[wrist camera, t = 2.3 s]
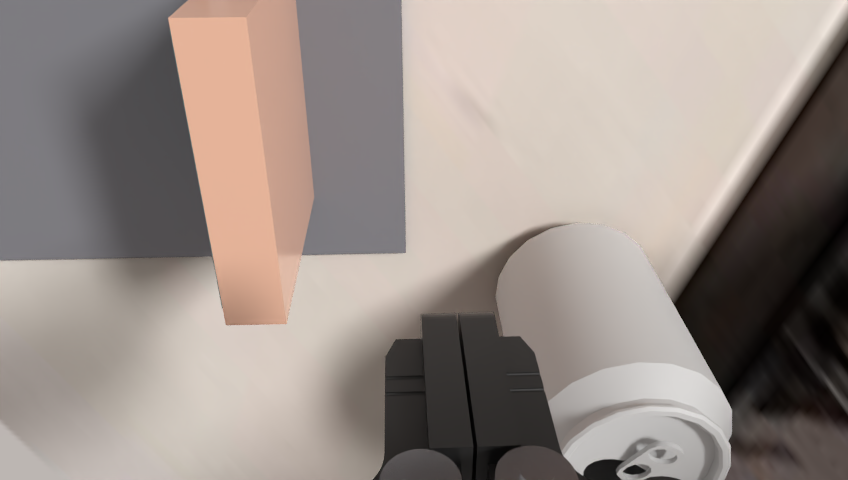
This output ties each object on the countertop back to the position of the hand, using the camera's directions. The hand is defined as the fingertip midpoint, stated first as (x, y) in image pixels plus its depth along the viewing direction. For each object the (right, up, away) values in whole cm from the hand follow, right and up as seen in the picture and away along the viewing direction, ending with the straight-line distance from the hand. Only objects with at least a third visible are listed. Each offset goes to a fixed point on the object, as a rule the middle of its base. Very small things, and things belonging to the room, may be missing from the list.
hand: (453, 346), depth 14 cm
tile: (-6, +8, +14) cm, 17 cm away
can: (+7, 0, +20) cm, 21 cm away
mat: (-11, +8, +14) cm, 20 cm away
